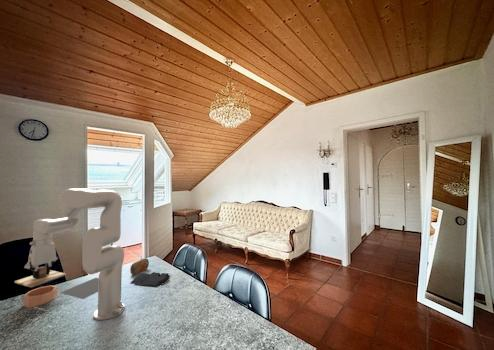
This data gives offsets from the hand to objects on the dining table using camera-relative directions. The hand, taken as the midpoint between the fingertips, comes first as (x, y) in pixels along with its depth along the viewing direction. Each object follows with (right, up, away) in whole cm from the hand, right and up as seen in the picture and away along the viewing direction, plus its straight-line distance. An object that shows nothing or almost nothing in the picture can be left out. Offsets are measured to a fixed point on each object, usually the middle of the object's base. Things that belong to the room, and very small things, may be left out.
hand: (41, 275), depth 112 cm
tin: (+35, -15, +35) cm, 52 cm away
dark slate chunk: (+49, -14, +22) cm, 56 cm away
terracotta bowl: (0, -13, -1) cm, 13 cm away
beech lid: (0, -2, 0) cm, 2 cm away
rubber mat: (+17, -13, +13) cm, 25 cm away
